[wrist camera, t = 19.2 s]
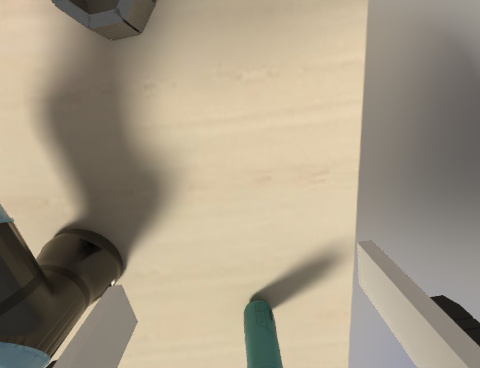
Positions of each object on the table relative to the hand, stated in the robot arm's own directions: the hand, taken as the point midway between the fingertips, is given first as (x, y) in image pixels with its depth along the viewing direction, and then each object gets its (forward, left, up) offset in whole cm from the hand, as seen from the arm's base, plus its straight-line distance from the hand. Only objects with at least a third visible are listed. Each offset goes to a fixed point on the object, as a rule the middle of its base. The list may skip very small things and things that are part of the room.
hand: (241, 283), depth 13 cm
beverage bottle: (-2, -34, -32) cm, 47 cm away
